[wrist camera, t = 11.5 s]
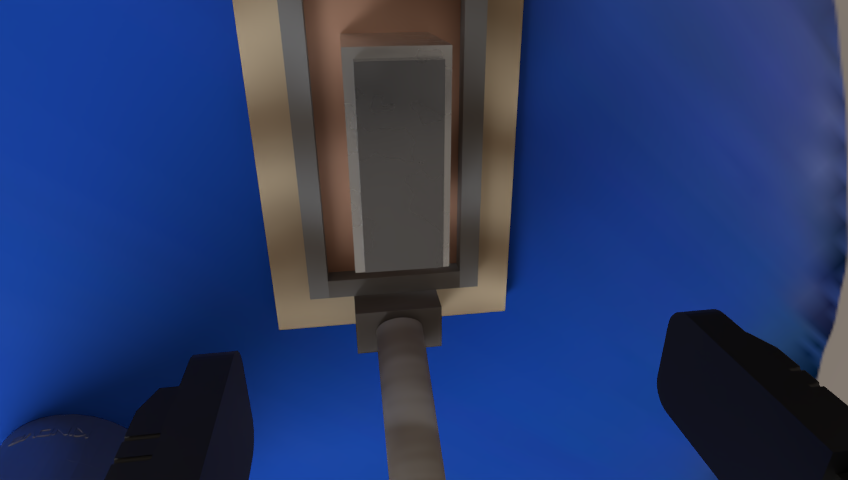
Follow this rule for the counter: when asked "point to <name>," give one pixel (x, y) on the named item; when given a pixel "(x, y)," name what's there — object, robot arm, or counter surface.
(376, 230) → the block
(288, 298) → the stand
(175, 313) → the counter surface
